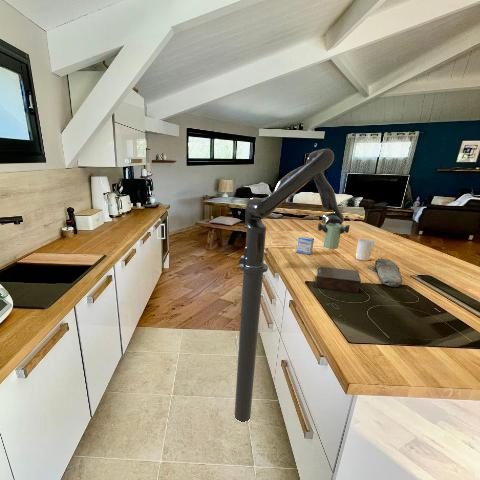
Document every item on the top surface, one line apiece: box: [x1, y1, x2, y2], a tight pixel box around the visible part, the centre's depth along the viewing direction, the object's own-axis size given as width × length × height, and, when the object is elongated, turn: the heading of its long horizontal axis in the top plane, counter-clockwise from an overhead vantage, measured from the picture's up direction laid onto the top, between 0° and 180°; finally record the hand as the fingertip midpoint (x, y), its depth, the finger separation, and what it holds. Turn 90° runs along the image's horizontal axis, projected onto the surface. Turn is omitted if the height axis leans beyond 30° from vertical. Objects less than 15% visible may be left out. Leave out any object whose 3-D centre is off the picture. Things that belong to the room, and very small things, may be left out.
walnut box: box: [314, 265, 362, 294], centre depth 131 cm, size 16×14×5 cm
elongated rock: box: [374, 257, 403, 288], centre depth 142 cm, size 35×5×10 cm
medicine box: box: [295, 236, 315, 256], centre depth 177 cm, size 8×4×9 cm, turn 55°
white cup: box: [355, 238, 376, 262], centre depth 165 cm, size 8×8×10 cm
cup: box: [323, 224, 342, 250], centre depth 141 cm, size 6×6×10 cm
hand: (333, 230), depth 138 cm, fingers closed on cup, 6 cm apart
